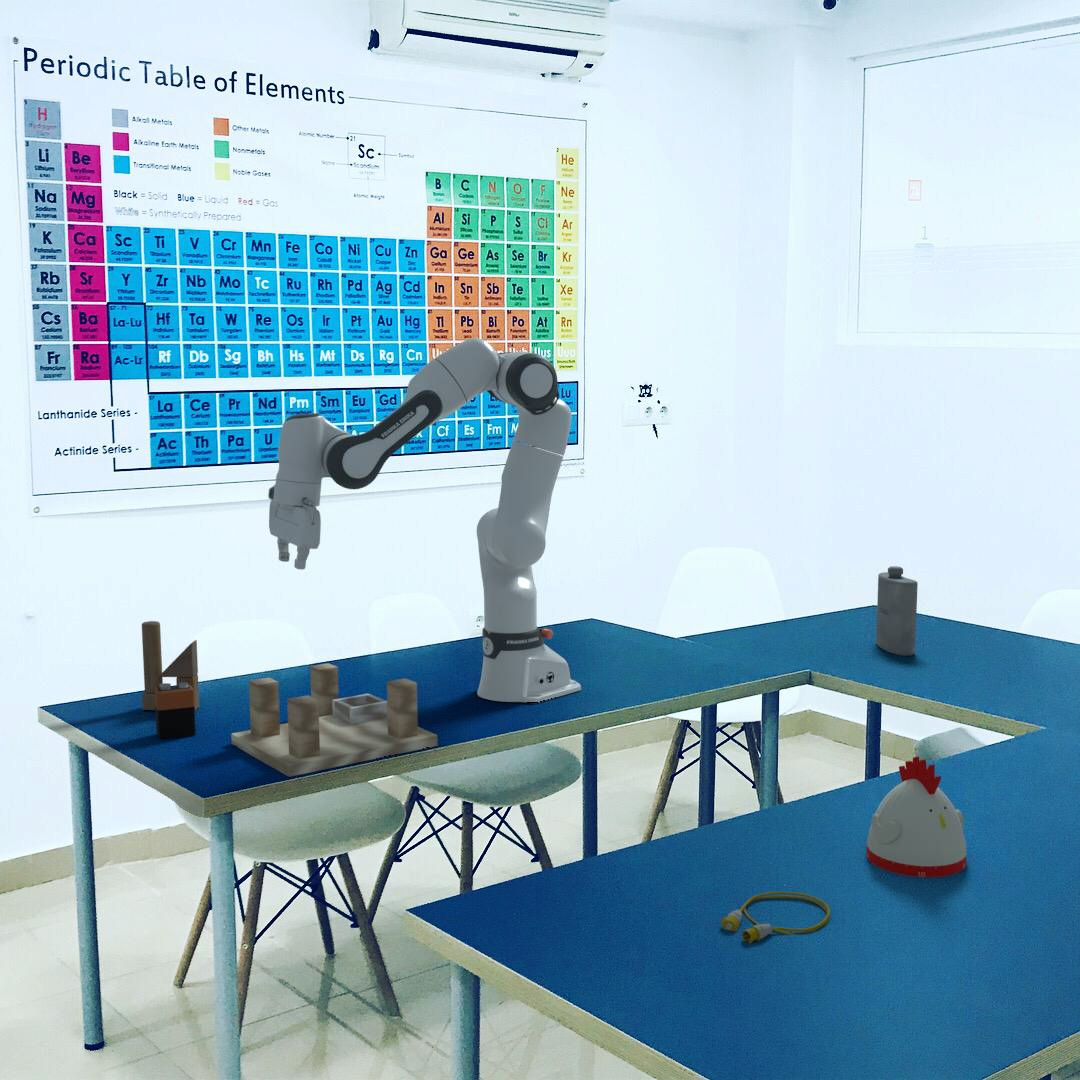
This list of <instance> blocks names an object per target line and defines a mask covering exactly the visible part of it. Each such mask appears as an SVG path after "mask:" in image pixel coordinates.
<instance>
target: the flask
mask: <svg viewBox="0 0 1080 1080" xmlns="http://www.w3.org/2000/svg"><path fill="white" fill-rule="evenodd" d="M902 575H904V568H903V567H901V566H897V565H895V566H889V567H888V568H887V571H885V572H880V573H878V576H877V577H878V578H877V606H876V607H877V609H876V630H875V631H876V632H875V633H876V635H875V644H876V645H877V646H878V647H879V648H880V649H882V650H883V651H885V652H887V653H889V654H890V653H891V654H893V655H897V656H902V657H904V656H906V657H910V656H913V655H915V653H916V641H917V640H916V635H917V610H918V609H917V608H918V606H917V605H918V581H916V580H914V579H911V578H907V577H906V576H905V577H904V576H902Z"/></svg>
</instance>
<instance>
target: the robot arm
mask: <svg viewBox="0 0 1080 1080" xmlns="http://www.w3.org/2000/svg"><path fill="white" fill-rule="evenodd" d="M558 383H559V381H558V375H557V371H556V368H555V367H554V365H553V364H552V362H551V361H549V359H548V358H546V357H544V356H543V355H541V354H538V353H533V352H529V351H522V350H521V351H514V352H512V351H510V352H509V351H508V352H507V351H506V352H499V353H497V351H496V350H495V348H494V347H493V346H492V345H491V344H490V343H489V342H487V341H486V340H485V339H482V338H479V337H471V338H468V339H466V340H464V341H461V342H459V343H457V344H455V345H454V346H452V347H450V348H449V349H447V350H445V351H444V352H442V353H440V354H439V355H438V356H435V358H433V359H432V360H430V361H429V362H428V363H427V364H425V365H424V366H423V367H422V368H420V369H419V371H418V372H417V373H416V374H415V375H414V376H413V377H412V378H411V379H410V380H409V381H408V384H407V389H406V394H405V397H404V399H403V401H402V403H400V405H399V406H398V407H397V408H396V409H394V410H393V411H392V412H391V413H390V414H388V415H387V416H386V417H384V418H383V419H382V420H380V421H379V422H378V423H377V424H376V425H374V426H373V427H371V428H370V429H369V430H367V431H365V432H364V433H361V434H357V435H356V434H352V433H350V432H348V431H345V430H344V429H342V428H340V427H338V426H336V424H333V423H332V422H330V421H329V420H328V419H327V418H325V416H324V415H322V414H320V413H315V412H314V413H311V412H308V413H299V414H298V413H297V414H292V415H290V416H289V417H287V418H286V419H285V420H284V422H283V424H282V427H281V429H280V435H279V442H278V449H277V450H278V451H277V459H278V471H277V473H276V476H275V483H274V485H273V486H271V487H270V488H268V494H267V497H268V499H269V500H270V503H269V512H268V513H269V514H268V528H269V533H270V535H271V536H273V537H275V538H277V540H276V542H277V549H278V561H280V562H283V563H284V562H285V563H287V562H289V561H290V556H291V553H290V551H289V544H292V545H293V546H295V547H296V552H297V554H296V559H294V563H293V564H294V568H295V569H297V570H305V569H306V566H307V559H308V558H309V555H310V550H311V549H312V550H317V549H318V548H319V546H320V544H321V529H322V528H321V527H322V526H321V524H322V523H321V522H322V521H321V512H320V511H319V509H318V508H317V507H319V506H320V505H321V504H320V503H321V491H322V481H323V478H331V479H332V481H334V483H336V485H339V486H340V487H341V488H344V489H348V490H360V489H363V488H365V487H368V486H369V485H370V484H372V483H373V482H374V481H375V479H377V477H378V476H379V473H381V470H382V468H383V467H384V464H385V463H386V462H387V460H388V459H389V458H390V457H391V456H392V455H393V454H394V453H396V452H397V451H398V450H399V449H401V448H402V447H403V446H405V445H406V444H407V443H408V442H410V441H411V440H412V439H413V438H416V436H417V435H418V434H420V433H421V432H422V431H423V430H425V429H427V428H428V427H430V426H432V425H433V424H436V423H438V422H439V421H441V420H443V419H445V418H446V417H449V416H450V415H452V414H454V413H455V412H456V411H458V410H460V409H461V408H462V407H464V406H465V405H466V404H468V403H469V402H471V400H473V399H474V398H475V397H476V396H478V395H480V394H483V393H484V392H487V393H488V394H489V395H490V396H491V397H493V398H494V399H496V400H497V401H498V402H500V403H504V404H508V405H511V406H513V407H516V409H517V413H518V422H517V425H518V426H517V428H516V430H515V433H514V436H513V440H512V442H511V445H510V449H509V452H508V454H507V457H506V460H505V461H506V462H505V464H504V466H503V467H504V468H503V471H502V474H501V484H500V485H501V486H500V494H499V501H498V507H496V508H492V509H491V510H489V511H487V512H486V513H484V514H482V516H481V517H480V519H479V521H478V523H477V525H476V538H477V546H478V556H479V557H478V558H479V565H480V572H481V573H480V574H481V580H482V586H483V587H482V588H483V617H484V618H483V621H484V622H483V623H484V625H483V628H482V635H481V637H482V638H481V639H482V641H481V642H482V643H481V645H482V654H483V660H482V668H481V674H480V675H481V677H480V682H479V686H478V690H477V691H476V693H477V694H476V695H477V696H478V697H479V698H482V699H485V700H490V701H492V702H493V701H495V702H504V703H505V702H506V703H527V702H538V703H541V702H540V701H542V702H544V701H543V700H545V701H549V700H552V699H555V697H556V698H558V697H563V696H565V695H570V694H572V693H575V692H579V691H581V690H582V686H581V684H580V683H579V682H578V681H576V680H575V679H572V678H571V674H570V672H571V671H570V668H569V664H568V662H567V661H566V659H565V658H563V656H561V655H560V654H558V653H557V652H555V651H554V650H553V649H551V647H549V646H548V645H546V644H545V642H544V639H543V638H545V639H547V640H550V639H552V637H553V636H554V632H553V630H552V629H550V628H549V629H548V628H540V627H539V626H538V625H537V624H538V623H537V622H538V616H537V615H538V612H537V611H538V607H537V606H538V602H537V601H538V600H537V598H538V596H537V591H538V590H537V588H536V585H535V580H534V573H533V568H532V567H533V566H532V565H535V564H536V563H537V562H538V561H540V559H541V558H542V557H543V555H544V553H545V551H546V544H547V543H546V532H547V528H548V521H549V517H550V516H549V515H550V509H551V508H550V507H551V502H552V495H553V491H554V488H555V486H556V485H555V484H556V482H557V478H558V475H559V472H560V469H561V465H562V462H563V459H564V456H565V453H566V450H567V445H568V442H569V436H570V432H571V425H572V418H573V417H572V416H573V415H572V410H571V408H570V406H569V405H568V404H567V403H566V402H565V401H564V400H563V399H560V392H559V387H558ZM551 698H552V699H551ZM548 699H549V700H548Z"/></svg>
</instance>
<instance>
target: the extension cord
mask: <svg viewBox="0 0 1080 1080" xmlns="http://www.w3.org/2000/svg"><path fill="white" fill-rule="evenodd" d="M768 899H769V900H770V899H793V900H794V899H795V900H803V901H808V902H811V903H814V904H817V905H818V906H819V907H820V908H822V909H823V910H824V911H825V913H826V916H825V917H824V919H822V920H821V921H820V922H819V923H817V924H815V925H813V926H809V927H805V928H792V927H791V928H790V927H782V926H781V927H779V926H772V924H770V923H766V922H763V923H760V922H757V921H756V920H755V919H754V918H752V917H751V916H750V915H749V914H748V912H747V906H748V905H749V904H751V903H752V902H755V901H758V900H768ZM743 912H744V913H743ZM830 914H831V911H830V906H829V905H828V904H827V903H826V902H825V901H824V900H822V899H821V898H818V897H815V896H812V895H809V894H805V893H801V892H793V891H771V892H763V893H760V894H756V895H754V896H752V897H750V898H749V899H747V900H746V901H745V902H744V904H743V905H742V906H741V907H740V909H735V910H731V911H730V913H729V912H728V913H727V917H722V918H721V921H720V924H721V925H722V929H723V930H725V931H732V932H737V930H738V929H739V927H740V926H741V925H740V924H741V923H742V919H743V915H745V916H746V917H747V919H748V920H750V922H752V923H753V924H755V925H753V926H751V927H750V928H748V929H745V930H743V931H742V933H741V935H742V936H741V937H742V940H743V941H744V942H747V943H748V944H752V943H754V941H757V942H759V941H760V940H763V939H764V938H765V937H767V936H768V935H769V934H772V932H773V931H774V932H777V933H780V934H784V935H797V933H800V934H802V933H812V932H815V931H817V930H818V929H820V928H822V927H824V926H825V925H826V924H828V923H829V920H830V918H831V915H830Z"/></svg>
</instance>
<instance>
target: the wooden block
mask: <svg viewBox="0 0 1080 1080" xmlns="http://www.w3.org/2000/svg"><path fill="white" fill-rule="evenodd" d="M161 634H162V633H161V623H160V621H156V620H149V621H144V622H142V624H141V639H142V641H141V642H142V643H141V644H142V659H143V660H142V661H143V663H142V664H143V680H144V681H143V683H144V692H143V693H142V694H141V704H142V711H143V710H155V688H158V687H160V684H164V681H163V680H164V679H163V678H175V681H176V682H175V683H176V686H177V685H179V683H184V682H186V683H188V685H190V686H191V687H192V688H193V690H194V704H195V711H197V710H198V709H199V708H200V694H199V693H200V690H199V668H198V666H199V665H198V642H197V639H195V640H194V641H192V642H190V643H189V645H188V646H186V647H185V649H184V650H183V651H182V652H180V654H179V655H178V656H177V657H176V658H175V659H174V660H173V661H172V662H170V664H169V665H168V666H167V667H166V668H165V669H164V670H163V661H162V658H163V657H162V637H161ZM198 707H199V708H198ZM197 708H198V709H197Z"/></svg>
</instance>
